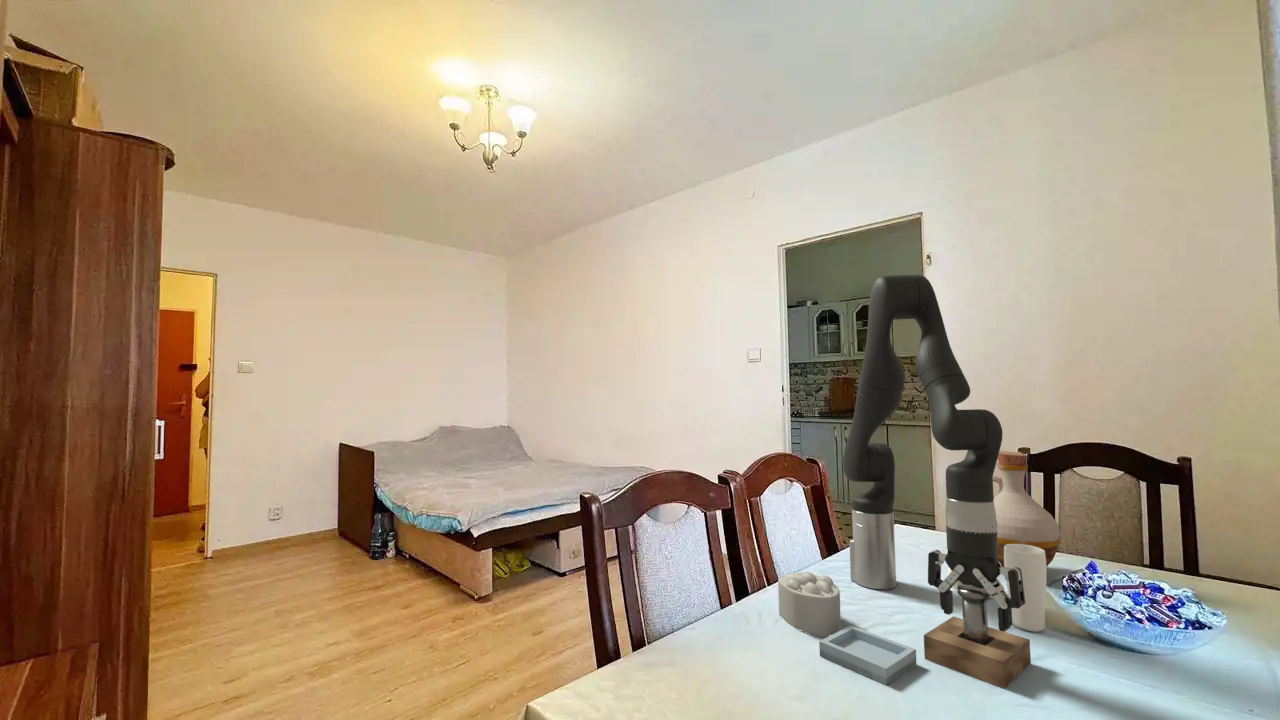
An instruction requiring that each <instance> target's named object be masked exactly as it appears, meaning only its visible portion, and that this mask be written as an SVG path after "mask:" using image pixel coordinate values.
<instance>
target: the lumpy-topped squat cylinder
mask: <svg viewBox="0 0 1280 720" xmlns="http://www.w3.org/2000/svg"><path fill="white" fill-rule="evenodd" d="M777 587H778V593H777V594H778V616H779V615H780V616H781V617H782V618H783V619H784V620H785V621H786V622H787V623H788V624H790V625H791V626H793V627H794V628H796V629H799V630H802V631H804V632H803V633H805V632H807V633H806V634H808V633H810V634H809V635H812V634H815V635H814V636H818V635H823V636H822V637H829V635H833V634H835V633H837V632H838V631H840V630H842V620H841V617H842V616H841V614H842V613H841V592H840V588H839V587H838V585H836V584H834V581H833V579H832V578H831V577H830V576H829V575H826V574H823V575H821V576H819V575H816V574H814V573H812V572H810V571H803V572H794V573H791V572H790V573H788V574H787V575H786V576H781V577H779V578H778V580H777ZM780 616H779V617H780ZM786 622H785V623H786ZM787 623H786V624H787ZM788 624H787V625H788ZM790 625H789V626H790ZM791 626H790V627H791ZM793 627H792V628H793ZM794 628H793V629H794ZM796 629H795V630H796ZM799 630H798V631H799ZM802 631H801V632H802Z"/></svg>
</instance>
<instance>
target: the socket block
mask: <svg viewBox="0 0 1280 720" xmlns="http://www.w3.org/2000/svg"><path fill="white" fill-rule="evenodd" d="M988 638H989V643H988V644H987V645H986V646H985V645H982V644H979V643H976V642H972V641H969V640H966V639H964V628H963V618H960V617H958V616H952V617H950V618H948V619H947V620H945V621H944V622H942V623H941V624H939V625H937V626H936V627H934V628H933V629H931V630H929V631H928V632H926V633H925V634H923V651H924V652H923V653H924V660H927V661H930V662H932V663H936V664H937V665H940V666H943V667H945V668H948V669H950V670H954V671H956V672H959V673H962V674H965V675H968V676H970V677H972V678H975V679H977V680H981V681H983V682H986V683H988V684H992V685H994V686H996V687H999V688H1002V689H1006V688H1007V687H1008V686H1009V685H1010V684H1011V683H1012V682H1013V681H1014V680H1015V679H1017V678H1018V676H1020V675H1021V674H1022V673H1023V672H1024V671H1025V670H1026V669H1027V668H1028V667H1029V666H1030V665H1031V664H1032V660H1031V643H1030V642H1031V641H1030V640H1031V639H1029V638H1026V637H1024V636H1020V635H1016V634H1013V633H1010V632H1007V631H1005V632H1004V631H1000V630H999V629H997V628H994V627H991V626H988Z"/></svg>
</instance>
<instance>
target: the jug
mask: <svg viewBox="0 0 1280 720" xmlns="http://www.w3.org/2000/svg"><path fill="white" fill-rule="evenodd" d="M1028 456H1029V455H1028V454H1026V453H1023V452H1022V453H1021V452H1015V451H1007V450H1000V451H999V455H998V458H997V461H998V462H996V467H997V469H998V471H999V473H1000V477H998V476H997V475H993V483H997V484H998V485H999V487H998V488H999V490H998V493H996V495H994V500H993V501H994V506H995V511H996V520H997V524H998V527H997V540H998V561H999V562H1000V563H1001V567H1004V546H1005V545H1007V544H1023V545H1030V546H1034V547H1038V548H1041V549H1043V550H1044V551H1045V555H1046V566H1047V567H1048V566H1049V565H1050V564H1051V563H1052V562H1053V560H1054V558H1055V556H1056V553H1057V552H1058V547H1059V544H1060V538H1061V537H1060V536H1061V535H1060V534H1061V531H1060V528H1059V525H1058V522H1057V521H1056V520H1055V518H1054V517H1053V515H1052V514H1051V513H1050V512H1049V511H1048V510H1046V509H1045V508H1044V507H1043V506H1042V505H1040V504H1039V503H1038V502H1037V501H1036V500H1035V499H1033V498H1032V497H1031V496H1030V495H1029V494H1028V493H1027V492H1026V490H1025V475H1026V471H1028V467H1029V465H1028V464H1026V462H1027V459H1028Z"/></svg>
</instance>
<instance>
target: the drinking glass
mask: <svg viewBox="0 0 1280 720" xmlns="http://www.w3.org/2000/svg"><path fill="white" fill-rule="evenodd" d="M1004 567H1008V568H1014V567H1018V568H1020V569H1021V571H1022V579H1023V587H1024V595H1025V604H1024V605H1022V606H1021V607H1020V608H1018V609H1016V608H1012V625H1013V626H1014V627H1016V628H1018V629H1019V630H1023V631H1025V632H1026V631H1027V632H1033V633H1040V632H1043V631H1044V630H1045V629H1046V596H1047V579H1048V573H1047V572H1048V566H1046V555H1045V551H1044V550H1043V549H1041V548H1038V547H1034V546H1030V545H1023V544H1007V545H1005V546H1004ZM1006 586H1007V594H1008V596H1009V597H1010V598H1011V596H1010V587H1009V582H1008V581H1006Z"/></svg>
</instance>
